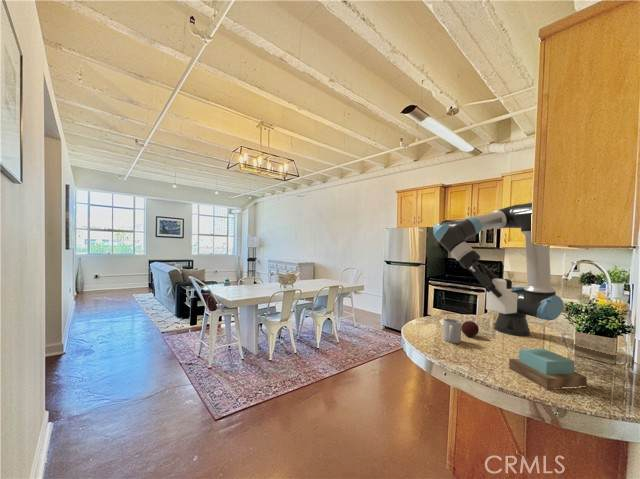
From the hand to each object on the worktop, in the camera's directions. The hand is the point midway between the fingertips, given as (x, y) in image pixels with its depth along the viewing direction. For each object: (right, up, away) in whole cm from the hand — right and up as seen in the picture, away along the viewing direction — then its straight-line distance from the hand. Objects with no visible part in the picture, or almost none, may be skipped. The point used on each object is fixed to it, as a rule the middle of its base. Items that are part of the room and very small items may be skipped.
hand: (511, 302), depth 99 cm
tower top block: (+6, -20, -7) cm, 22 cm away
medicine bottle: (-2, -4, +2) cm, 5 cm away
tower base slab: (+6, -24, -8) cm, 26 cm away
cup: (-10, -23, +24) cm, 35 cm away
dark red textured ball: (+3, -24, +33) cm, 40 cm away
